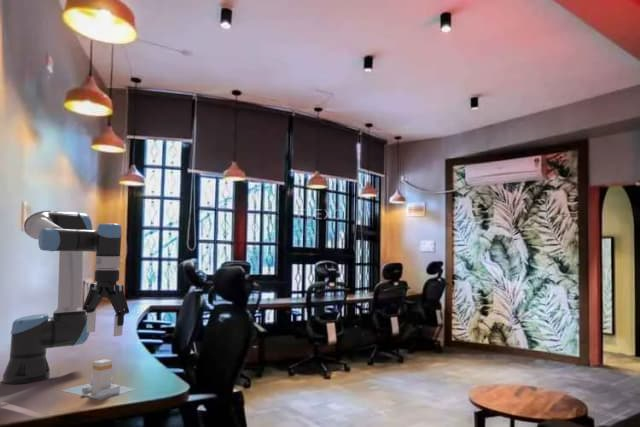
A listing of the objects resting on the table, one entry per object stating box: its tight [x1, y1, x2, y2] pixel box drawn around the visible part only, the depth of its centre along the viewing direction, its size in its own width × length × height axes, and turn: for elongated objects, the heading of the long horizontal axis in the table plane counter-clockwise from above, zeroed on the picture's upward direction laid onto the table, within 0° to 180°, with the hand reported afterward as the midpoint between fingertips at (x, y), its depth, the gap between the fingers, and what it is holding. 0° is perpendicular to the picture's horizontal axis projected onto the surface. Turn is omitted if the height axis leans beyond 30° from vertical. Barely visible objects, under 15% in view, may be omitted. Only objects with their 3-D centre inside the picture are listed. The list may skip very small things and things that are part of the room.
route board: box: [60, 382, 137, 401], centre depth 159 cm, size 20×14×1 cm
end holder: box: [81, 383, 121, 400], centre depth 154 cm, size 8×8×2 cm
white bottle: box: [91, 358, 113, 394], centre depth 154 cm, size 4×4×10 cm
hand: (104, 334), depth 156 cm, fingers open, 13 cm apart
